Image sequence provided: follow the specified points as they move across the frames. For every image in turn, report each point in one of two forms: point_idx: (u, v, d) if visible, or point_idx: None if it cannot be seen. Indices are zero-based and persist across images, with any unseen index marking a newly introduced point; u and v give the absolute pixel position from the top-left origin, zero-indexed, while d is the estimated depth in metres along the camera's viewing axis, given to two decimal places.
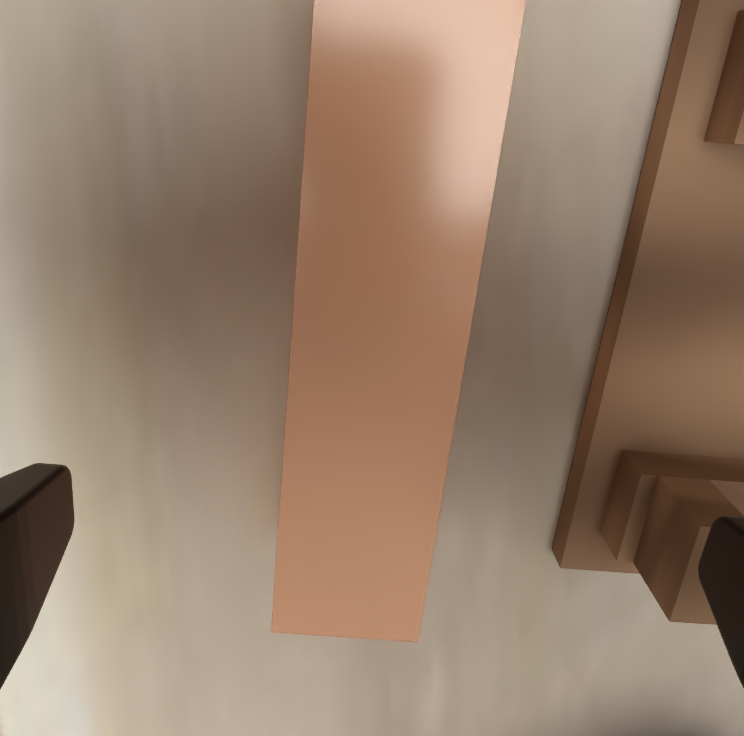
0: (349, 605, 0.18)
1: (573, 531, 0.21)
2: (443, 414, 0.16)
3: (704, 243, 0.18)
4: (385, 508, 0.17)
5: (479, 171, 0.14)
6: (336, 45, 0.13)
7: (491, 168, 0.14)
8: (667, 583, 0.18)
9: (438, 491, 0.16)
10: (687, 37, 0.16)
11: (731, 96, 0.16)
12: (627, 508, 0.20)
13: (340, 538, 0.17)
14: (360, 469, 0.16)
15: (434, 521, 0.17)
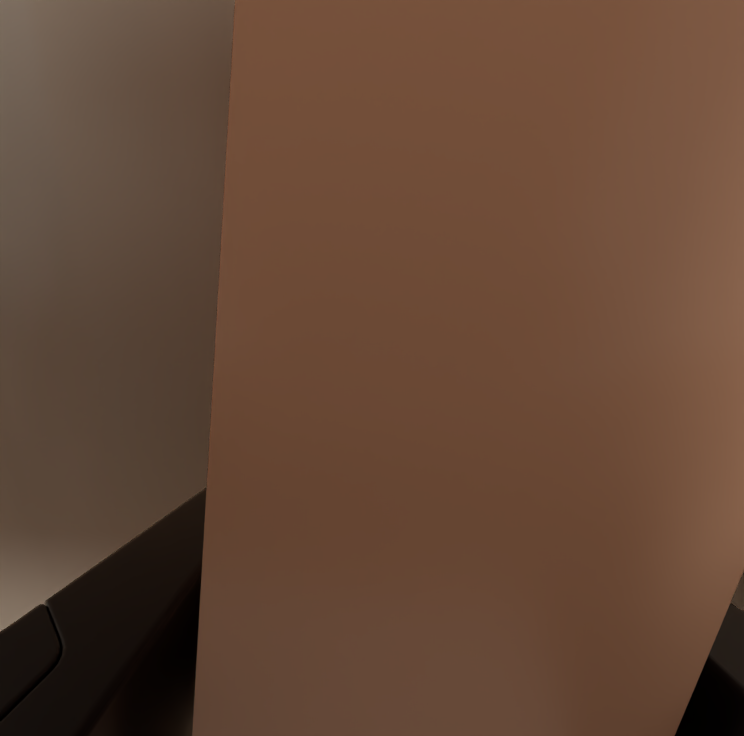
0: None
1: None
2: None
3: None
4: None
5: None
6: None
7: None
8: None
9: None
10: None
11: None
12: None
13: None
14: None
15: None
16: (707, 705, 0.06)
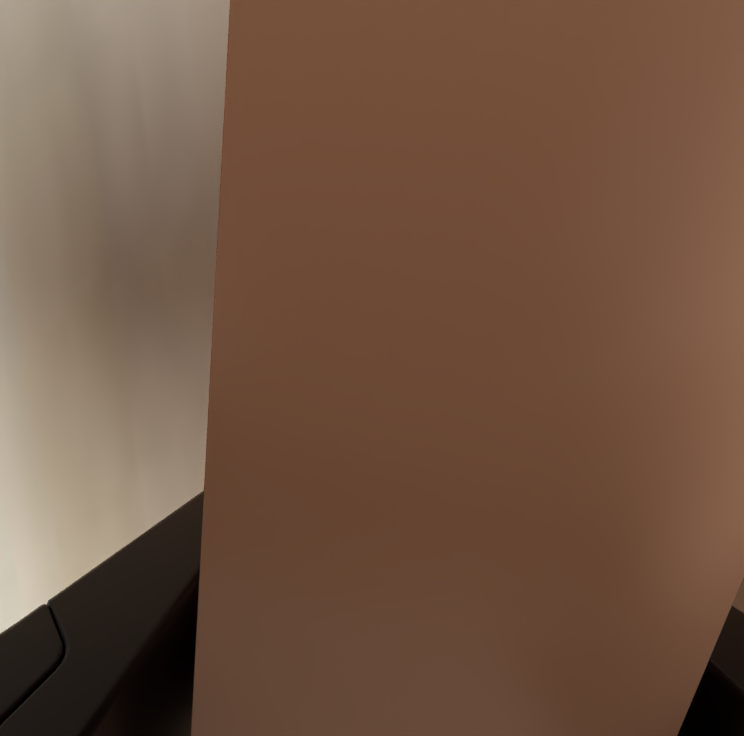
0: None
1: None
2: None
3: None
4: None
5: None
6: None
7: None
8: None
9: None
10: None
11: None
12: None
13: None
14: None
15: None
16: (705, 704, 0.06)
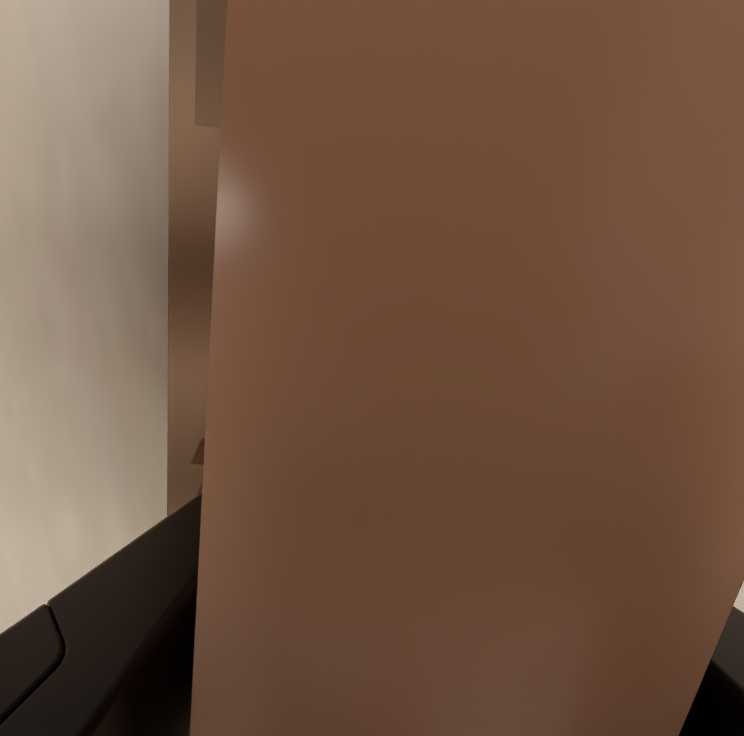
0: None
1: None
2: None
3: None
4: None
5: None
6: None
7: None
8: None
9: None
10: (171, 7, 0.16)
11: None
12: None
13: None
14: None
15: None
16: (705, 705, 0.06)
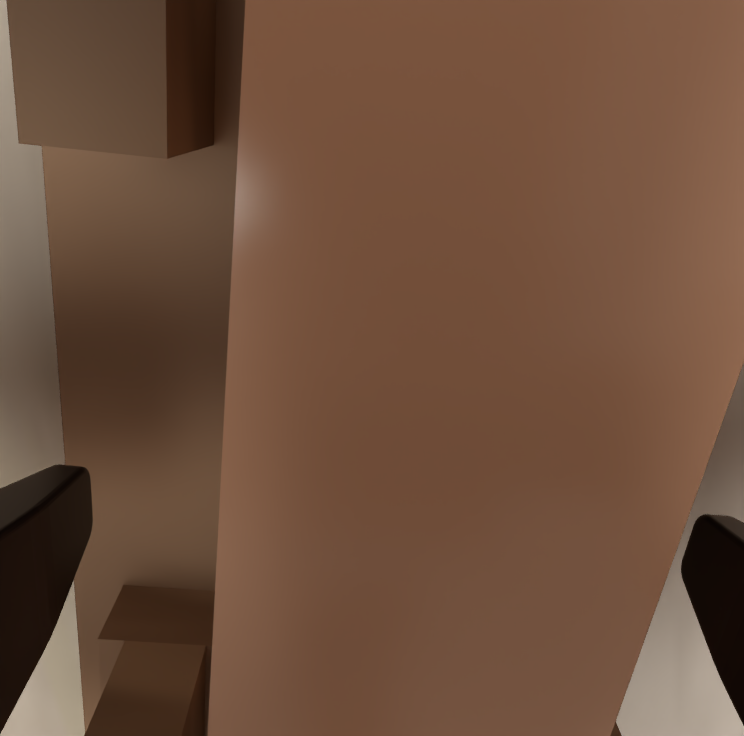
0: None
1: (89, 692, 0.15)
2: None
3: (157, 288, 0.11)
4: None
5: (726, 273, 0.05)
6: None
7: None
8: None
9: None
10: None
11: None
12: None
13: None
14: None
15: None
16: None
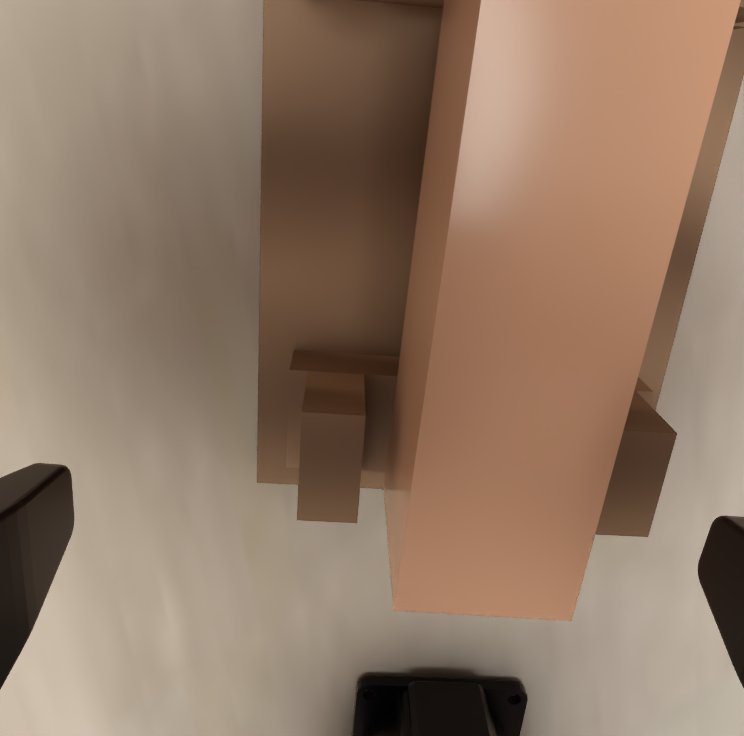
0: (492, 576, 0.14)
1: (262, 441, 0.20)
2: (634, 330, 0.12)
3: (333, 114, 0.17)
4: (547, 454, 0.13)
5: None
6: None
7: None
8: None
9: (616, 431, 0.13)
10: None
11: None
12: None
13: (489, 493, 0.13)
14: (522, 403, 0.13)
15: (607, 470, 0.13)
16: None
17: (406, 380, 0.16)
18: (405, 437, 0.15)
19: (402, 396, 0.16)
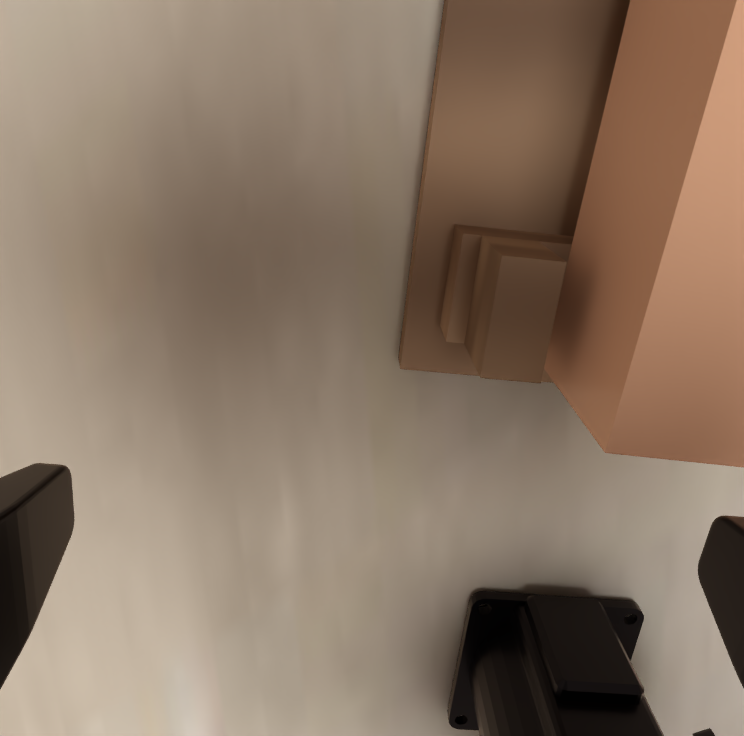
0: (711, 417, 0.14)
1: (411, 324, 0.20)
2: None
3: None
4: None
5: None
6: None
7: None
8: (481, 340, 0.16)
9: None
10: None
11: None
12: (454, 280, 0.18)
13: (724, 319, 0.13)
14: None
15: None
16: None
17: (607, 228, 0.15)
18: (614, 279, 0.15)
19: (594, 251, 0.16)
